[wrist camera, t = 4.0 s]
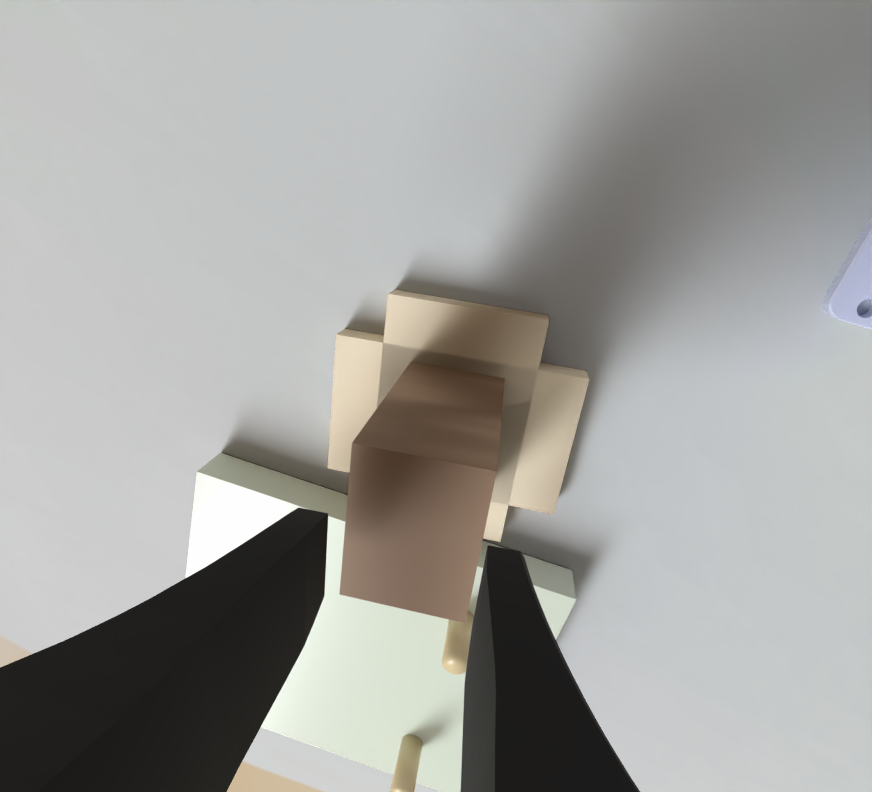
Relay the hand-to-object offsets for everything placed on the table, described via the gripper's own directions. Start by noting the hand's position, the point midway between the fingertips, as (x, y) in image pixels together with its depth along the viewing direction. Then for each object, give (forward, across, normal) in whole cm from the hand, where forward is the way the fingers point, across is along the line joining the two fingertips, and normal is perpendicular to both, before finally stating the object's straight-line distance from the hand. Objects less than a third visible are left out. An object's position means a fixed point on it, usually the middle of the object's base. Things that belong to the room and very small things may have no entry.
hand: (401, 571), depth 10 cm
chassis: (+8, +3, +10) cm, 13 cm away
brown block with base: (+8, 0, 0) cm, 8 cm away
